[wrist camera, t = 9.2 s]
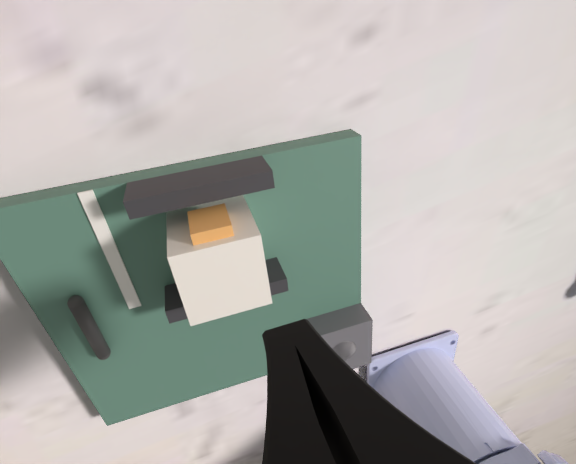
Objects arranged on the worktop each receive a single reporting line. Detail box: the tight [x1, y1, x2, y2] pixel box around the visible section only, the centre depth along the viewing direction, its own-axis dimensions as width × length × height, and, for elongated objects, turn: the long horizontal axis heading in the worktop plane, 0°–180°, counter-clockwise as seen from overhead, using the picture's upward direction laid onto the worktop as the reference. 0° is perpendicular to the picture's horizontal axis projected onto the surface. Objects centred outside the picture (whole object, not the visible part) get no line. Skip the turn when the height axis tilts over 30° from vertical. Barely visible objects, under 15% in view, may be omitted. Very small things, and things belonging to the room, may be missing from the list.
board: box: [0, 129, 372, 426], centre depth 20 cm, size 15×17×3 cm
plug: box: [166, 195, 272, 326], centre depth 16 cm, size 4×4×4 cm
